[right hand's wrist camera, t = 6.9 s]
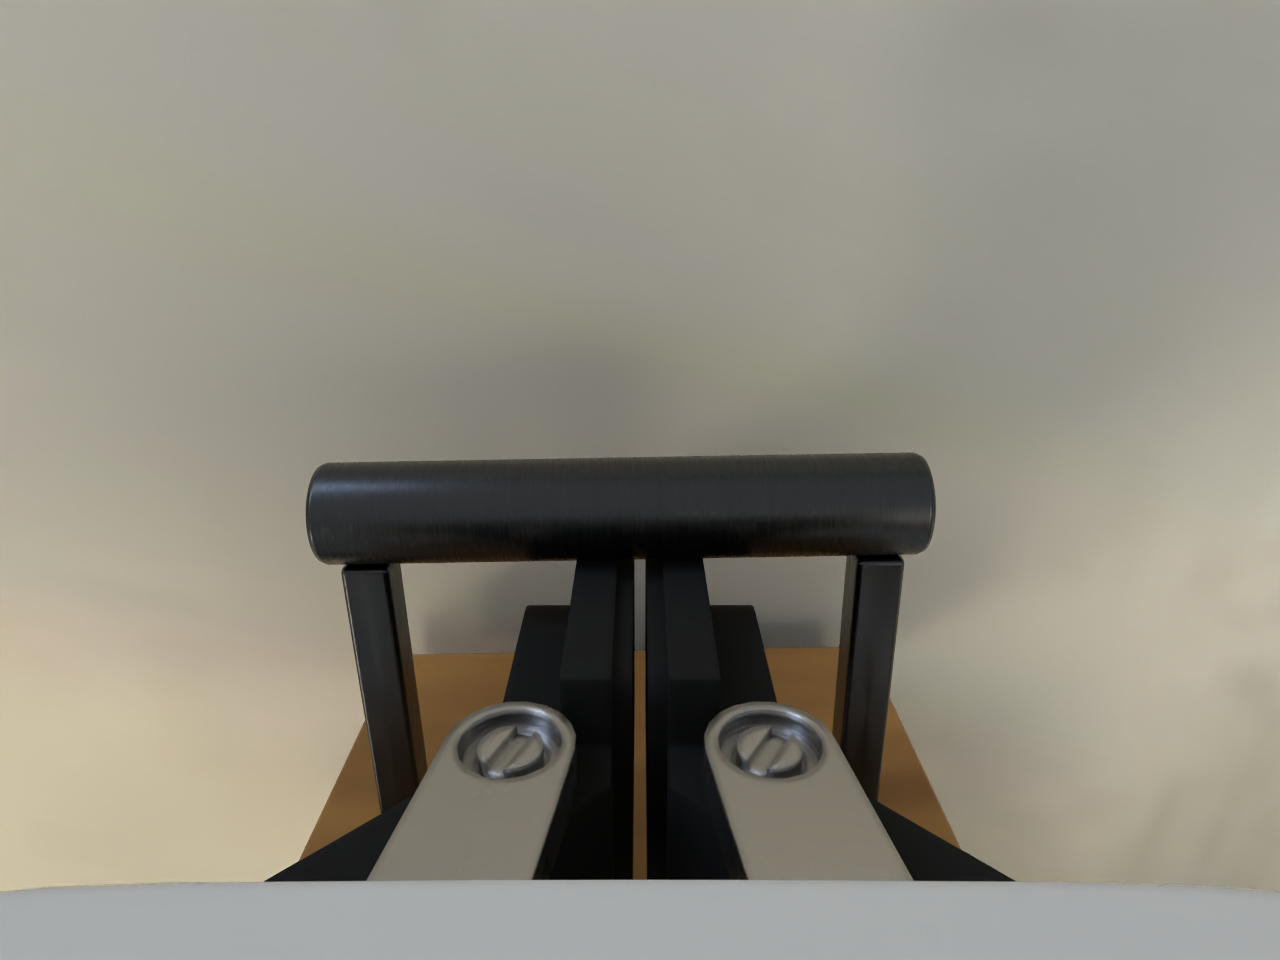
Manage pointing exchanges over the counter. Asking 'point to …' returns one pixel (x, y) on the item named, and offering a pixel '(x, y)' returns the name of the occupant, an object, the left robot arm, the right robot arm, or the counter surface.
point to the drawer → (617, 530)
